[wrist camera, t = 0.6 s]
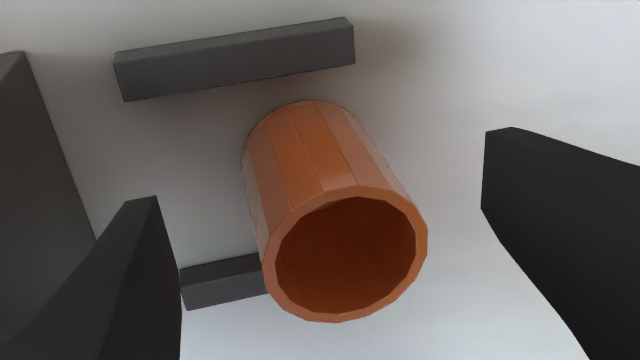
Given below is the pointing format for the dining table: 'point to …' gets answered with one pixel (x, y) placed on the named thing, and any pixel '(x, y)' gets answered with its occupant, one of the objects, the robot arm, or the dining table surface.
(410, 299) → the dining table surface
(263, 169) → the cup
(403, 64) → the dining table surface
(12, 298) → the coffee maker
